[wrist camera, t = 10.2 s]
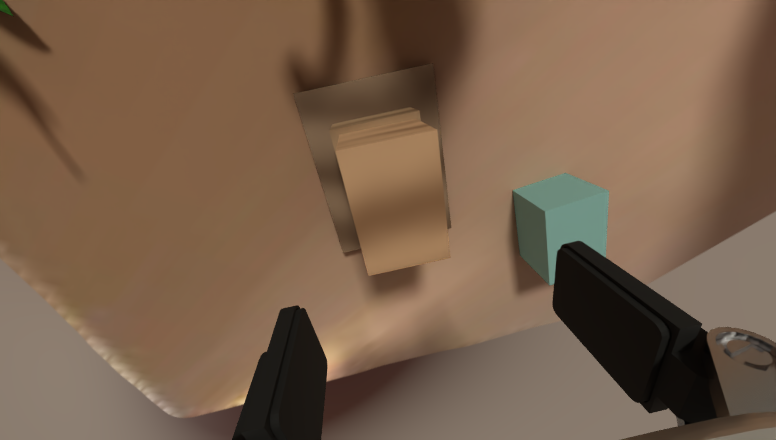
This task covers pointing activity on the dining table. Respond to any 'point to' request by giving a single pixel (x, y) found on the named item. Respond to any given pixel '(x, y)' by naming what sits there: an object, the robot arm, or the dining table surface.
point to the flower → (4, 8)
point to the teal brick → (559, 219)
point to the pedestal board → (355, 107)
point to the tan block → (395, 194)
